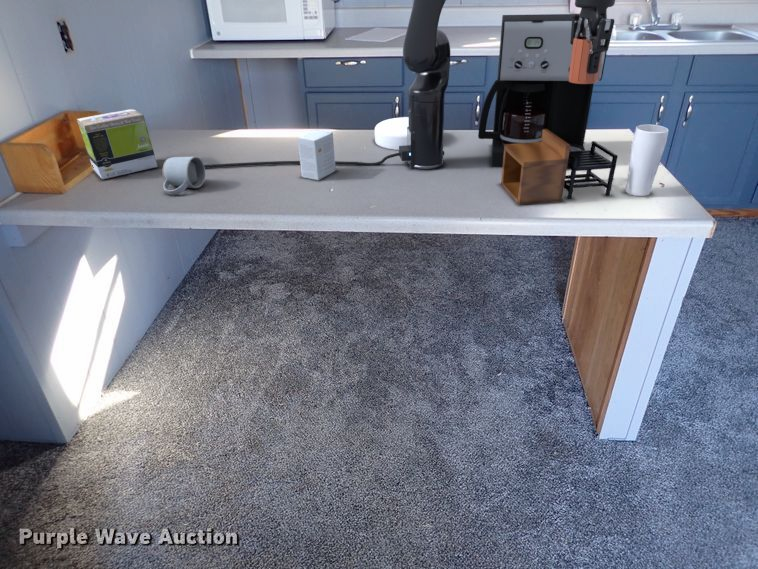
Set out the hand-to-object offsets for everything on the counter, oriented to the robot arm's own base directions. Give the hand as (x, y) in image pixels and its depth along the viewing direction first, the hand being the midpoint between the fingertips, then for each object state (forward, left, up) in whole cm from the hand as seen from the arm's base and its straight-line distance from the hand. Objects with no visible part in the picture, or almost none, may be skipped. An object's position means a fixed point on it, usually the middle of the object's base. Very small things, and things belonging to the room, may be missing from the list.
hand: (584, 70), depth 115 cm
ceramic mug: (-92, +20, -27) cm, 98 cm away
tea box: (-111, +38, -27) cm, 120 cm away
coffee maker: (0, +25, -27) cm, 37 cm away
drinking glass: (+15, -5, -27) cm, 32 cm away
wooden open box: (-9, 0, -27) cm, 28 cm away
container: (-30, +48, -27) cm, 63 cm away
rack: (+3, 0, -27) cm, 27 cm away
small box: (-58, +23, -27) cm, 68 cm away
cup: (0, 0, -2) cm, 2 cm away
